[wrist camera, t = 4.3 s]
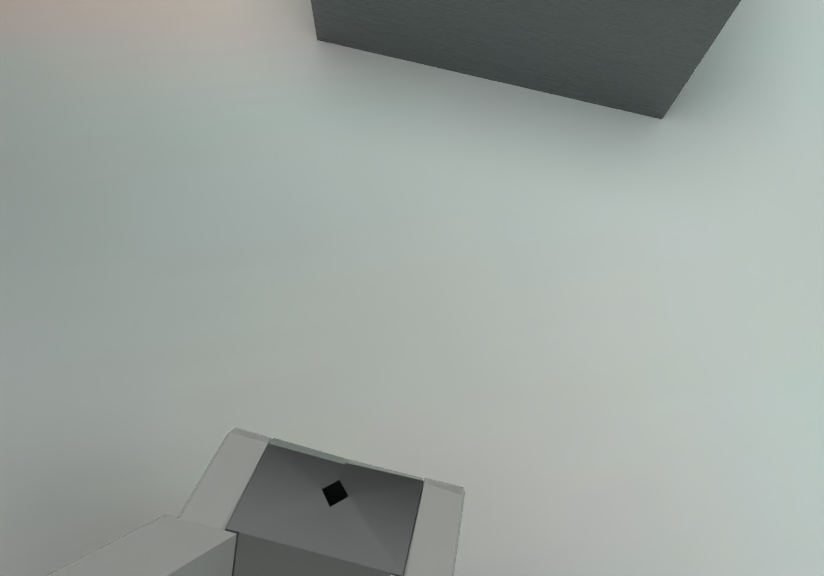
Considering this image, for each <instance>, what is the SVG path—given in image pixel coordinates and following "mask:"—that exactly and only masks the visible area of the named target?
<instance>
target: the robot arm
mask: <svg viewBox="0 0 824 576" xmlns="http://www.w3.org/2000/svg"><path fill="white" fill-rule="evenodd" d="M464 496H465V492H464V489H463V487H459V486H455V485H451V484H447V483H443V482H439V481H435V480H431V479H426V478H425V479H424V481H423V478H420V477H416V476H412V475H408V474H404V473H400V472H396V471H392V470H388V469H384V468H381V467H377V466H373V465H369V464H365V463H361V462H357V461H353V460H349V459H345V458H342V457H338V456H335V455H331V454H328V453H324V452H321V451H317V450H314V449H310V448H307V447H303V446H300V445H296V444H293V443H289V442H286V441H282V440H279V439H275V438H273V439H271V438H269V437H265V436H262V435H258V434H255V433H252V432H248V431H245V430H241V429H238V428H235V429H233V430H232V431H231V432H230V433H228V434H227V436H226V437H225V439H224V441H223V442H222V444H221V446H220V447H219V449H218V451H217V453H216V454H215V456H214V458H213V459H212V461H211V463H210V464H209V466H208V468H207V469H206V471H205V473H204V474H203V476H202V478H201V480H200V481H199V483H198V485H197V486H196V488H195V490H194V491H193V493H192V495H191V496H190V498H189V500H188V501H187V503H186V505H185V506H184V508H183V510H182V512H181V513H180V515H179V517H178V518H177V517H173V516H169V515H165V516H163V517H161V518H159V519H157V520H155V521H153V522H151V523H149V524H147V525H145V526H143V527H141V528H139V529H137V530H135V531H133V532H131V533H129V534H127V535H125V536H123V537H121V538H119V539H117V540H115V541H113V542H111V543H109V544H108V545H106V546H104V547H102V548H100V549H98V550H96V551H94V552H92V553H90V554H88V555H86V556H84V557H82V558H80V559H78V560H76V561H74V562H72V563H70V564H68V565H66V566H64V567H62V568H60V569H58V570H56V571H54V572H52V573H50V574H49V575H47V576H453V575H454V568H455V561H456V554H457V546H458V539H459V532H460V525H461V518H462V510H463V503H464Z"/></svg>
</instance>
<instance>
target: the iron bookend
mask: <svg viewBox="0 0 824 576" xmlns="http://www.w3.org/2000/svg"><path fill="white" fill-rule="evenodd" d="M740 1H741V0H311V4H312V10H313V16H314V22H315V28H316V34H317V40H320V41H325V42H329V43H333V44H338V45H342V46H346V47H351V48H355V49H359V50H364V51H368V52H372V53H377V54H381V55H385V56H390V57H394V58H398V59H403V60H407V61H411V62H416V63H420V64H424V65H429V66H433V67H437V68H442V69H446V70H450V71H455V72H459V73H463V74H468V75H472V76H476V77H481V78H485V79H489V80H494V81H498V82H502V83H507V84H511V85H516V86H520V87H524V88H529V89H533V90H537V91H542V92H546V93H550V94H555V95H559V96H563V97H568V98H572V99H576V100H581V101H585V102H589V103H594V104H598V105H602V106H607V107H611V108H615V109H620V110H624V111H628V112H633V113H637V114H641V115H646V116H650V117H654V118H659V119H662V118H663V117H664V115H665V114H666V112H667V111H668V109H669V108H670V106H671V105H672V103H673V102H674V100H675V99H676V97H677V96H678V94H679V93H680V91H681V90H682V88H683V87H684V85H685V84H686V82H687V81H688V79H689V78H690V76H691V75H692V73H693V72H694V70H695V69H696V67H697V66H698V64H699V63H700V61H701V60H702V58H703V57H704V55H705V54H706V52H707V51H708V49H709V48H710V46H711V45H712V43H713V42H714V40H715V39H716V37H717V36H718V34H719V33H720V31H721V30H722V28H723V26H724V25H725V23H726V22H727V20H728V19H729V17H730V16H731V14H732V13H733V11H734V10H735V8H736V7H737V5H738V4H739V2H740Z"/></svg>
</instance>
